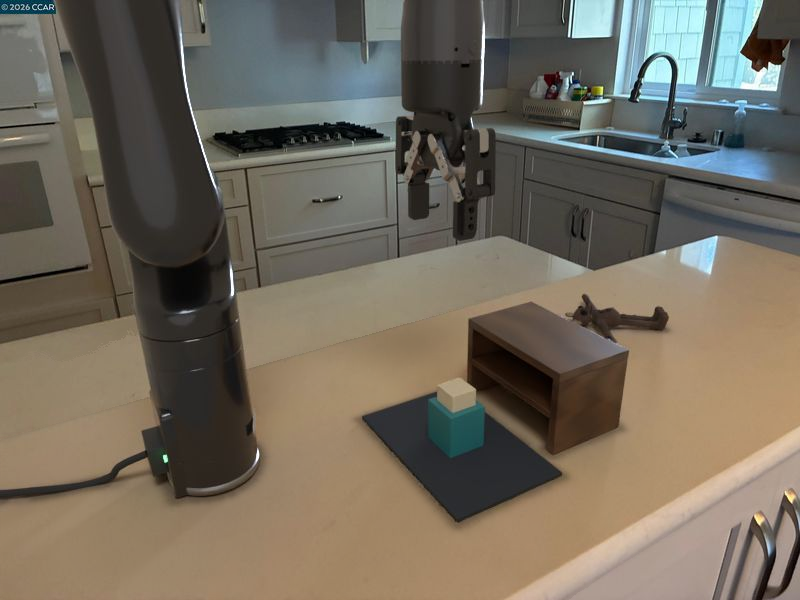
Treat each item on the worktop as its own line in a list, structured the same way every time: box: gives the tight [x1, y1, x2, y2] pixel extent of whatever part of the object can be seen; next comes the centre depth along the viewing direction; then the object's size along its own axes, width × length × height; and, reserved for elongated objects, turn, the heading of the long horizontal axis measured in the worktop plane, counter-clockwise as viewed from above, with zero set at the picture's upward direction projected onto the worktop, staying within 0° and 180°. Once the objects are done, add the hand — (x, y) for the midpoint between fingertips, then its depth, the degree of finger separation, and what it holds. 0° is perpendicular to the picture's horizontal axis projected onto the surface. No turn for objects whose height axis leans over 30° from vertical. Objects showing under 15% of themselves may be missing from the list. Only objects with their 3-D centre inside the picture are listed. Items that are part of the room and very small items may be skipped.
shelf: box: [466, 301, 630, 456], centre depth 73 cm, size 10×16×10 cm, turn 30°
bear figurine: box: [564, 293, 670, 344], centre depth 94 cm, size 18×4×14 cm
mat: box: [361, 391, 563, 523], centre depth 68 cm, size 13×20×1 cm, turn 30°
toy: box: [428, 377, 486, 458], centre depth 67 cm, size 4×4×7 cm
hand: (440, 228), depth 62 cm, fingers open, 8 cm apart
